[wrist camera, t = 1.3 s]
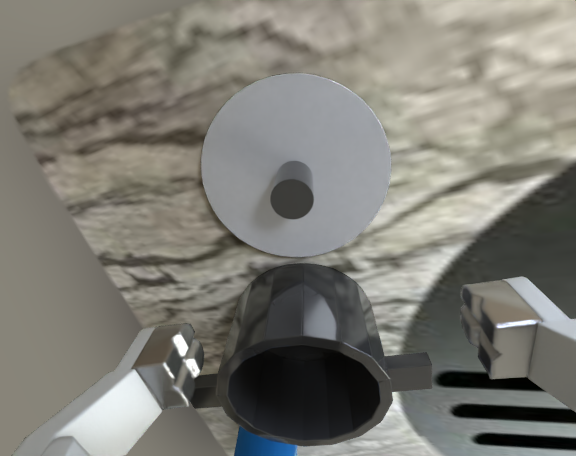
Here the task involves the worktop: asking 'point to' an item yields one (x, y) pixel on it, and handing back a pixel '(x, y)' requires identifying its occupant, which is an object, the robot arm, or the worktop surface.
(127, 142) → the worktop surface
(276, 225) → the pot lid
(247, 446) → the beverage can
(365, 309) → the pot
